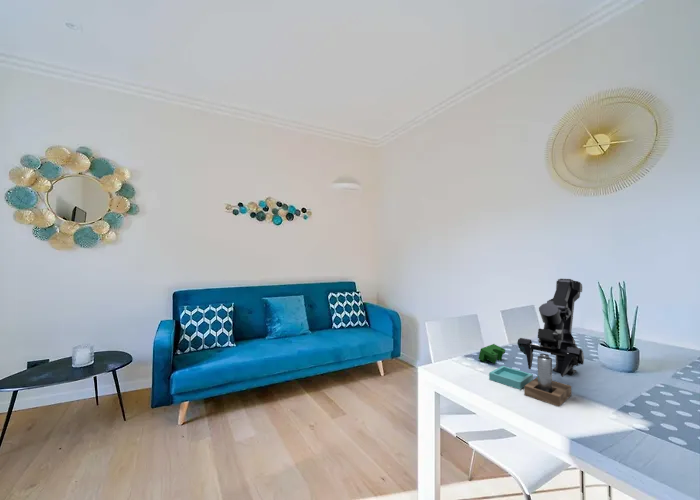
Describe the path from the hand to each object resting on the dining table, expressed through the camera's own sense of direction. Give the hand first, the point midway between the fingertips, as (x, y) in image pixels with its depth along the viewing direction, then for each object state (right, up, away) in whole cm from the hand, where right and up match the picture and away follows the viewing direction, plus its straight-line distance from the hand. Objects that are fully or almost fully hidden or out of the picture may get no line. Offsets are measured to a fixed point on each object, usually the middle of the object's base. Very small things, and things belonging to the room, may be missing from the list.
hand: (545, 372), depth 99 cm
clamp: (-1, -9, +34) cm, 35 cm away
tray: (-4, -8, +13) cm, 16 cm away
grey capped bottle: (0, -8, 0) cm, 8 cm away
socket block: (+2, -8, +1) cm, 8 cm away
